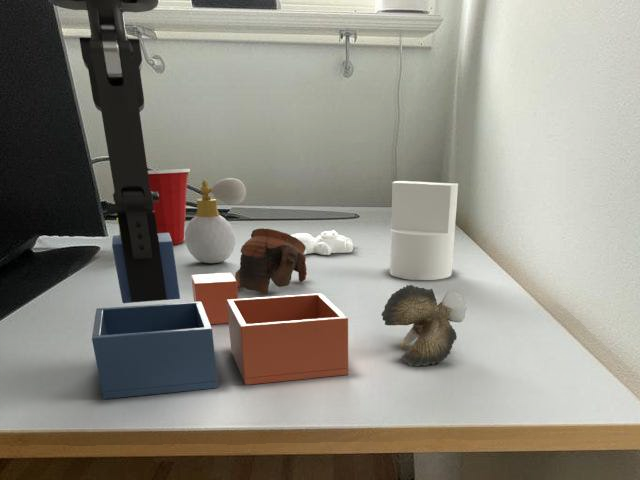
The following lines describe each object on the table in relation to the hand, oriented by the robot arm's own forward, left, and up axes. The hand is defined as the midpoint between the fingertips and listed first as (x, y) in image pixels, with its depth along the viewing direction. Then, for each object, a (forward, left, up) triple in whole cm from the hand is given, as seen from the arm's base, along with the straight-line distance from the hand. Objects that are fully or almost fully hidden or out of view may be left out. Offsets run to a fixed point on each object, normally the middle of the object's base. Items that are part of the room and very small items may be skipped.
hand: (148, 291), depth 55 cm
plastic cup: (-69, +4, -8) cm, 70 cm away
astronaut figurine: (-54, +28, -8) cm, 61 cm away
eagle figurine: (0, +25, -8) cm, 26 cm away
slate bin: (0, 0, -7) cm, 7 cm away
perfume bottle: (-49, +11, -8) cm, 51 cm away
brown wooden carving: (-30, +16, -8) cm, 35 cm away
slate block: (0, 0, 0) cm, 0 cm away
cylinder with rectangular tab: (-33, +38, -7) cm, 51 cm away
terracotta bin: (0, +11, -7) cm, 14 cm away
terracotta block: (-17, +7, -7) cm, 20 cm away
